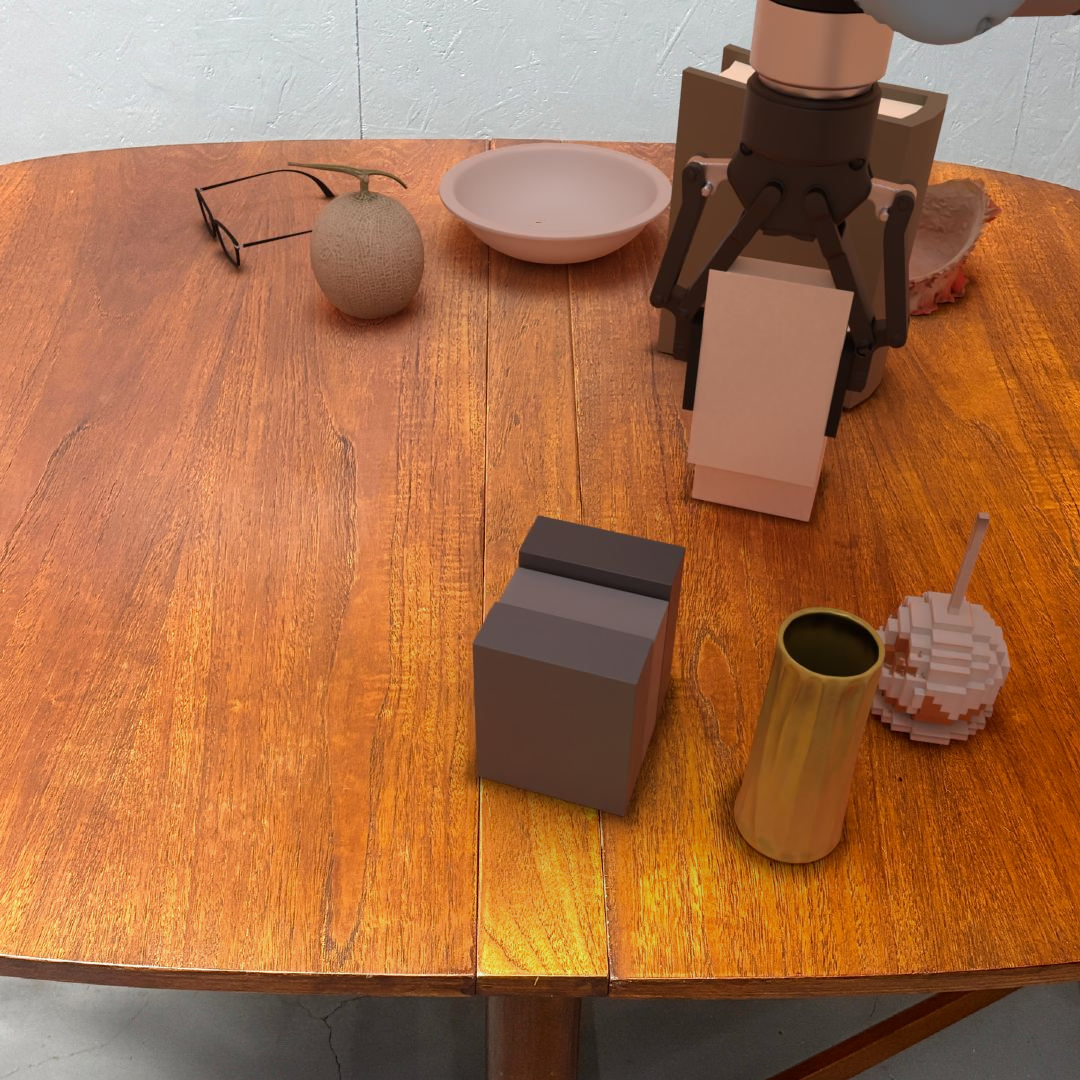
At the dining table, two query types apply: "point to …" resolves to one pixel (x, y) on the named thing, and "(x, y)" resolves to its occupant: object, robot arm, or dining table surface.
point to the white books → (756, 491)
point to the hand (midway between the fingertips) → (761, 412)
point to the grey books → (576, 663)
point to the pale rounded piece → (942, 660)
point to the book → (715, 130)
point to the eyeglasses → (216, 225)
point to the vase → (809, 734)
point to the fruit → (366, 249)
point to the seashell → (946, 241)
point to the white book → (767, 369)
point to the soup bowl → (555, 199)
